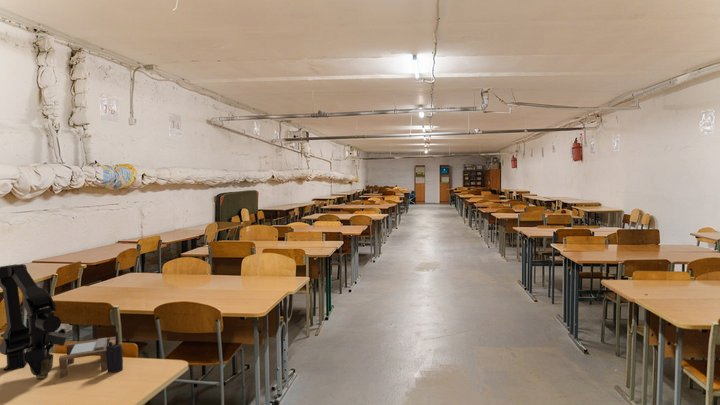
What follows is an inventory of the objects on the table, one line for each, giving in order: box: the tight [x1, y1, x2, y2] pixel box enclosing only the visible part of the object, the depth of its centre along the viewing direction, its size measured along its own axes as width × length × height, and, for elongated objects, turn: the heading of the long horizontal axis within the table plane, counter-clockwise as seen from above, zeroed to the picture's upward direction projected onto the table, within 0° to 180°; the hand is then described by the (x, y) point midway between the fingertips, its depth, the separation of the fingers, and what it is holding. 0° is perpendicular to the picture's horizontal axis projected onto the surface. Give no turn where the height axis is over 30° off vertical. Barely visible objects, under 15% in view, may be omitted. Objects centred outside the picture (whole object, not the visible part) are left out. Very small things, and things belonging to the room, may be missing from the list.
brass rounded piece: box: [28, 352, 54, 381], centre depth 162 cm, size 8×7×8 cm
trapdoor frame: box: [58, 336, 116, 379], centre depth 172 cm, size 16×17×8 cm
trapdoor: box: [70, 337, 108, 354], centre depth 172 cm, size 11×11×2 cm
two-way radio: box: [106, 330, 124, 374], centre depth 166 cm, size 6×4×15 cm
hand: (41, 369), depth 162 cm, fingers open, 9 cm apart
